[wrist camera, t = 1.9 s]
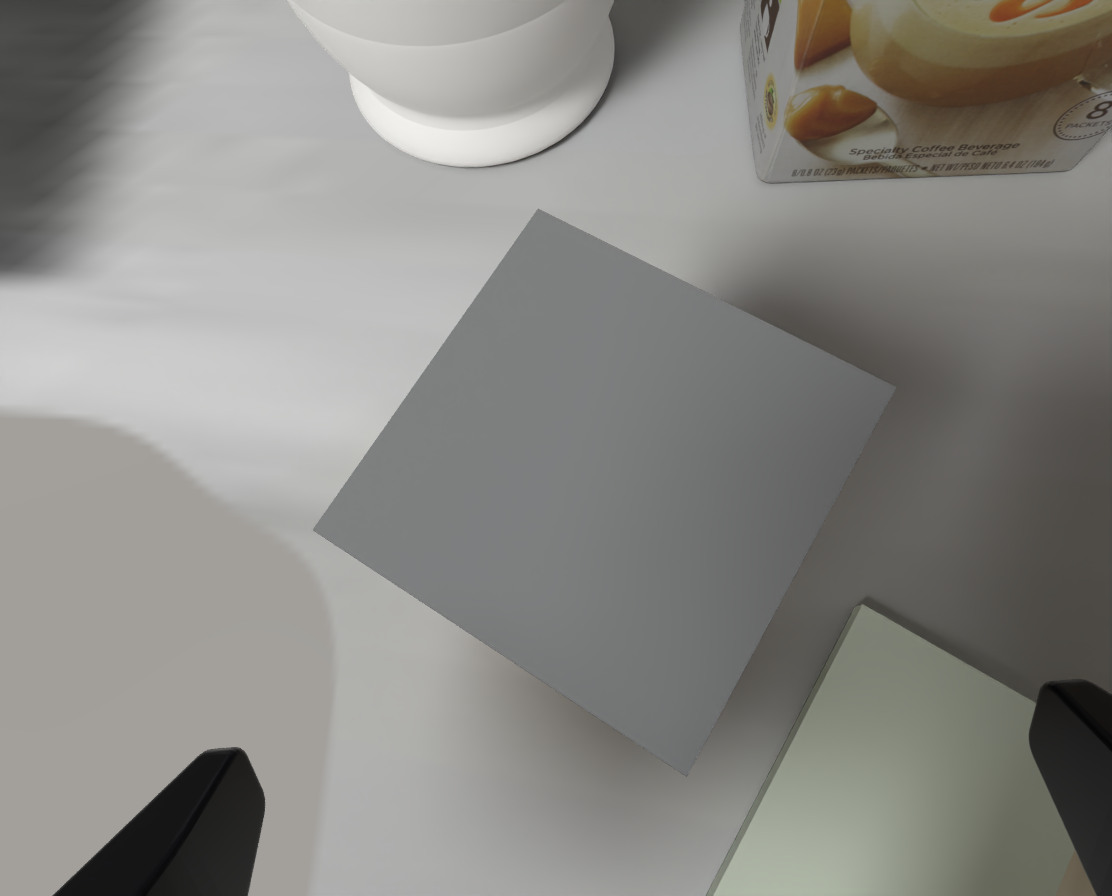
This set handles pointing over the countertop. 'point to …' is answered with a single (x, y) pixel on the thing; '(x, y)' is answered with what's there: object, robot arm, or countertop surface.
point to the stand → (901, 783)
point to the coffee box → (924, 86)
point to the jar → (469, 71)
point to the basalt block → (610, 481)
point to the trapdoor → (1075, 880)
